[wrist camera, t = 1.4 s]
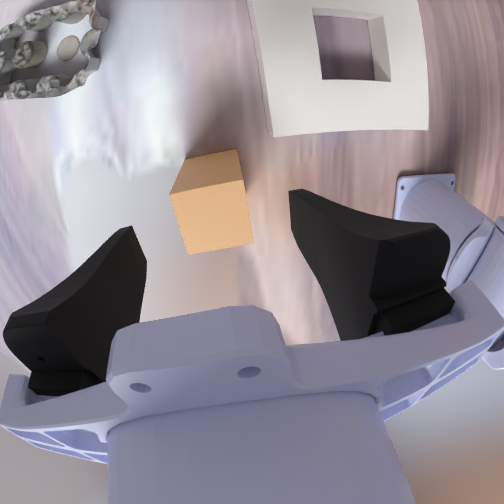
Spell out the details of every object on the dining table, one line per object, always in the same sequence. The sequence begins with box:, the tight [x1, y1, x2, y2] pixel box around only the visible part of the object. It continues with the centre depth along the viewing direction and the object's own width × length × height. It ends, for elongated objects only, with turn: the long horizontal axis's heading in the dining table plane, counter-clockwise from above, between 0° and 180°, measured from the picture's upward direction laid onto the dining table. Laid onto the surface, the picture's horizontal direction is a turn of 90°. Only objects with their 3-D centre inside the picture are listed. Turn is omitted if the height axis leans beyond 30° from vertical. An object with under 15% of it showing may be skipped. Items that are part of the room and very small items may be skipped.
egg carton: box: [0, 0, 109, 101], centre depth 11 cm, size 11×8×4 cm
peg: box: [170, 149, 254, 255], centre depth 18 cm, size 4×4×7 cm
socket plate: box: [247, 0, 429, 137], centre depth 14 cm, size 13×13×2 cm
